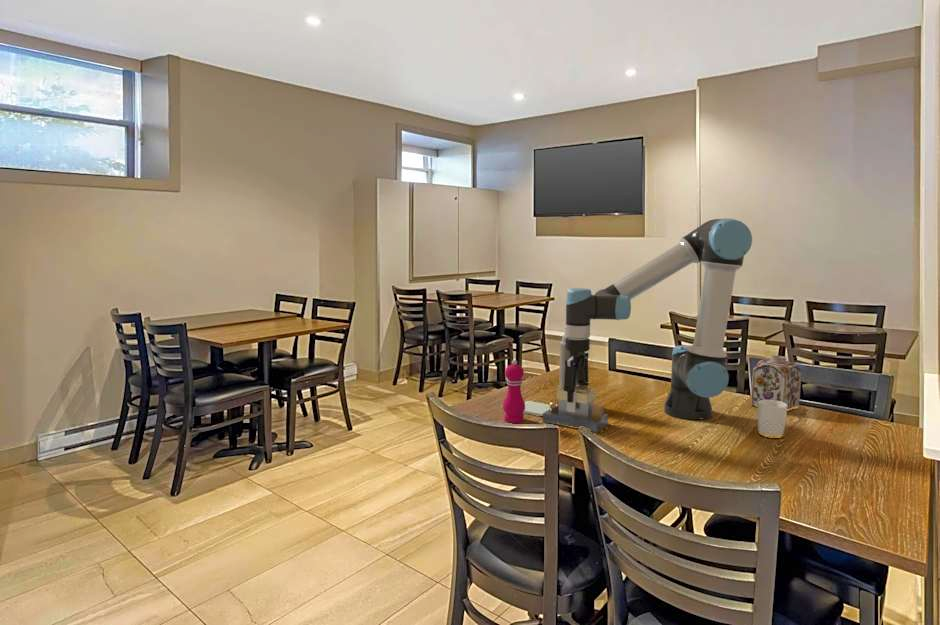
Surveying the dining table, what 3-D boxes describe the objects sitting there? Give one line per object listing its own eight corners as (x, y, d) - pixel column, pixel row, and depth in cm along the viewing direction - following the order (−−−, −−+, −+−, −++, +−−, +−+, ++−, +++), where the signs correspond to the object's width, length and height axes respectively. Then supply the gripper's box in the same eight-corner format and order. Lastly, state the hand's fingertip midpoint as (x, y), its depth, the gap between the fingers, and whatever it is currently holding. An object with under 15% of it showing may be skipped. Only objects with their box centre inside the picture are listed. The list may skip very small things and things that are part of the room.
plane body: (607, 423, 189) (608, 399, 188) (596, 432, 180) (597, 407, 179) (555, 413, 198) (556, 390, 197) (543, 422, 190) (543, 398, 189)
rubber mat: (555, 408, 204) (556, 405, 204) (542, 417, 195) (542, 414, 195) (527, 403, 210) (527, 400, 210) (512, 411, 201) (512, 408, 201)
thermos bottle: (558, 401, 213) (559, 324, 208) (580, 401, 212) (582, 324, 208) (559, 407, 205) (561, 328, 201) (582, 408, 204) (584, 328, 200)
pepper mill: (499, 417, 194) (499, 358, 191) (519, 415, 197) (519, 356, 194) (508, 424, 188) (508, 363, 185) (528, 422, 190) (529, 361, 187)
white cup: (751, 435, 178) (754, 403, 177) (761, 429, 184) (763, 398, 182) (779, 442, 173) (782, 409, 171) (788, 435, 178) (791, 403, 177)
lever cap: (595, 398, 188) (595, 386, 188) (586, 404, 183) (587, 391, 182) (565, 393, 194) (566, 381, 193) (557, 399, 188) (557, 386, 187)
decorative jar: (782, 414, 198) (787, 362, 195) (749, 406, 207) (752, 355, 204) (799, 408, 205) (804, 357, 202) (766, 400, 214) (770, 351, 211)
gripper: (578, 331, 196) (576, 398, 199) (553, 341, 179) (551, 414, 182) (600, 333, 192) (598, 402, 195) (576, 344, 175) (574, 419, 178)
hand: (575, 408), depth 189 cm, fingers closed on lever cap, 7 cm apart
